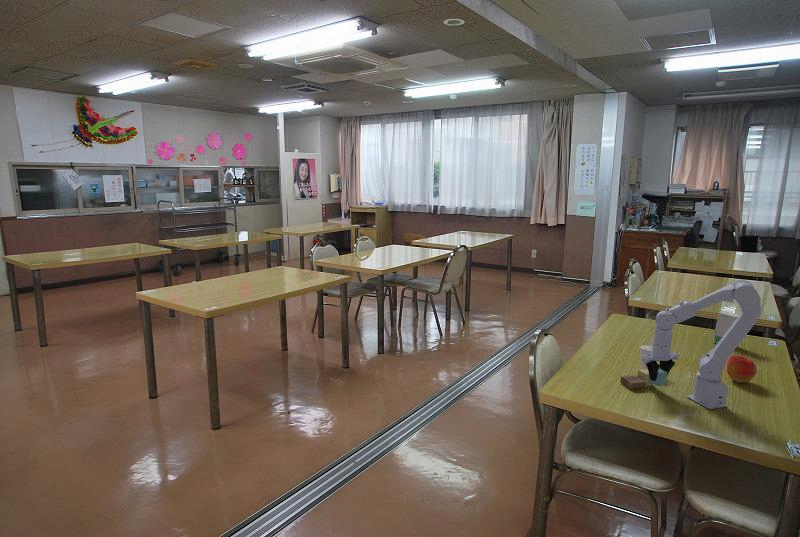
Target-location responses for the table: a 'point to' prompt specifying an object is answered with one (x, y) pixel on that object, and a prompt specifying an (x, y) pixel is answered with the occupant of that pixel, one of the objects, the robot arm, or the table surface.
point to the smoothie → (645, 353)
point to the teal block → (660, 378)
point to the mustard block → (644, 376)
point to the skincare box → (723, 324)
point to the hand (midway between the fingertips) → (657, 379)
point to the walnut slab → (633, 382)
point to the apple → (741, 369)
